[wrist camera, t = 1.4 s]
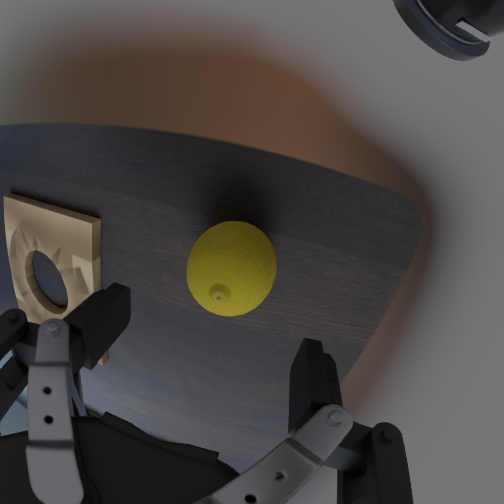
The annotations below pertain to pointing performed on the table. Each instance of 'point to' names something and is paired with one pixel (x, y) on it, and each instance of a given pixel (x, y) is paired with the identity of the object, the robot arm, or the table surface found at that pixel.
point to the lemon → (231, 268)
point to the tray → (52, 254)
